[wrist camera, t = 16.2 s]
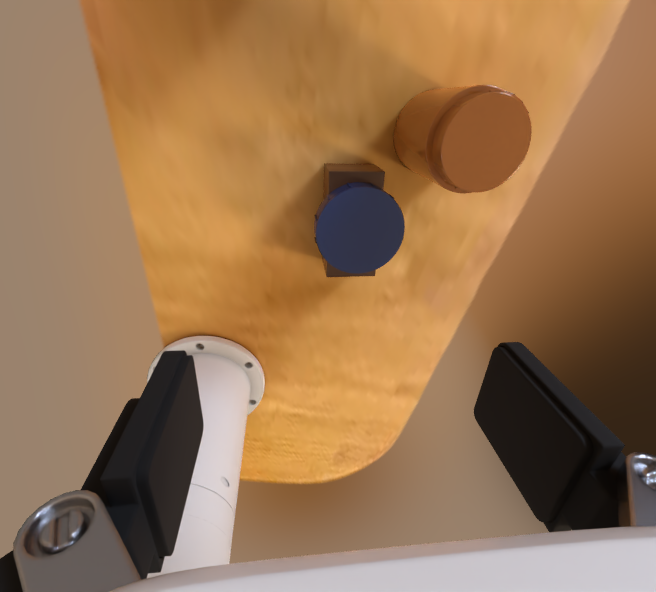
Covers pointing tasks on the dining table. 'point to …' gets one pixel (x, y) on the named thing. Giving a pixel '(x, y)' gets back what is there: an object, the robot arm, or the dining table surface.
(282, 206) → the dining table surface
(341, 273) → the stand
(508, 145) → the jam jar
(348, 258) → the jar lid
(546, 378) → the robot arm
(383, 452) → the dining table surface
